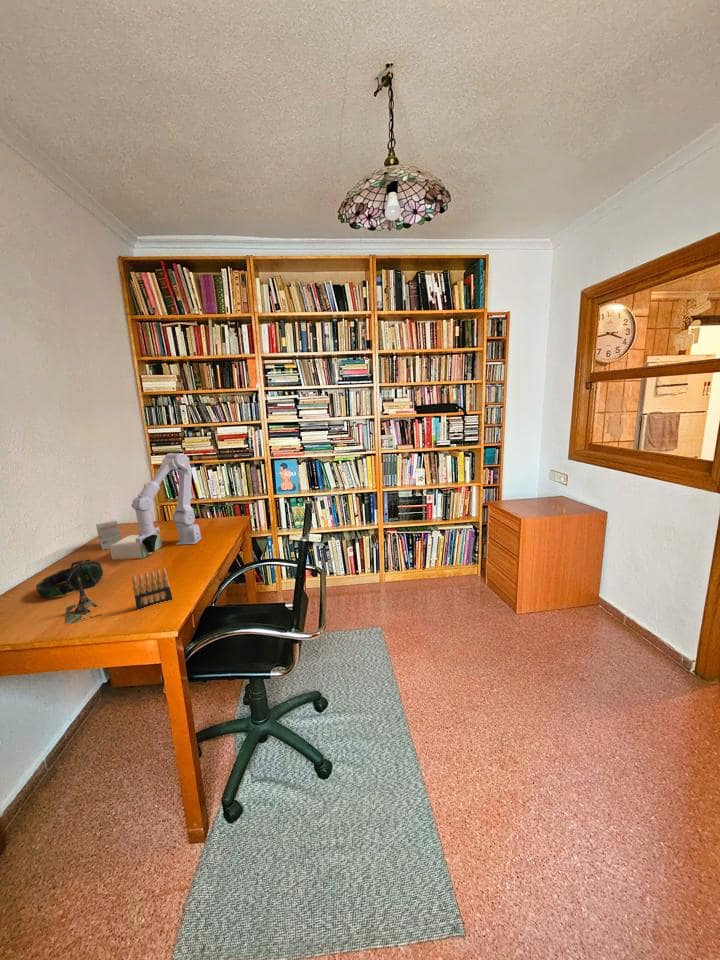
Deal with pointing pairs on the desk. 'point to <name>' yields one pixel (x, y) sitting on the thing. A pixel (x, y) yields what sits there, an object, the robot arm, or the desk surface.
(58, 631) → the desk surface
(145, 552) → the drawer
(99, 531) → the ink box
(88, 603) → the eiffel tower figurine
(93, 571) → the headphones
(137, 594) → the ammunition clip
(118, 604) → the desk surface
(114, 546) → the organizer
